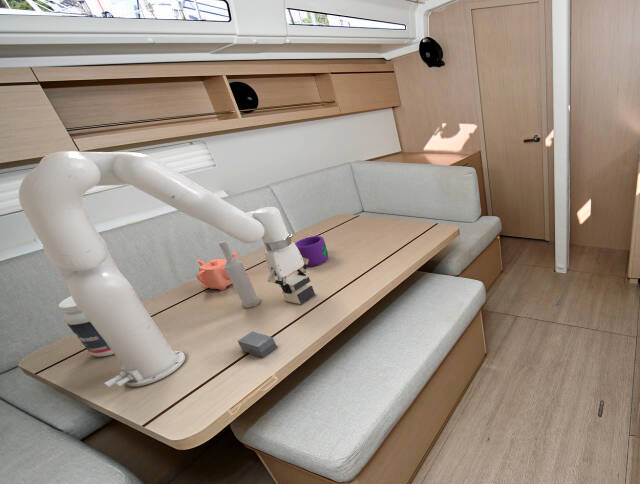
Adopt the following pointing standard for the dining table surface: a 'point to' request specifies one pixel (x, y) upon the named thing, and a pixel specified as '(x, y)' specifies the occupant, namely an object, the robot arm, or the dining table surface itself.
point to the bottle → (239, 278)
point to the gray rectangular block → (257, 344)
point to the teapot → (214, 273)
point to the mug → (313, 250)
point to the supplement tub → (84, 329)
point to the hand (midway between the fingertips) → (296, 287)
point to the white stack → (300, 295)
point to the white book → (296, 281)
